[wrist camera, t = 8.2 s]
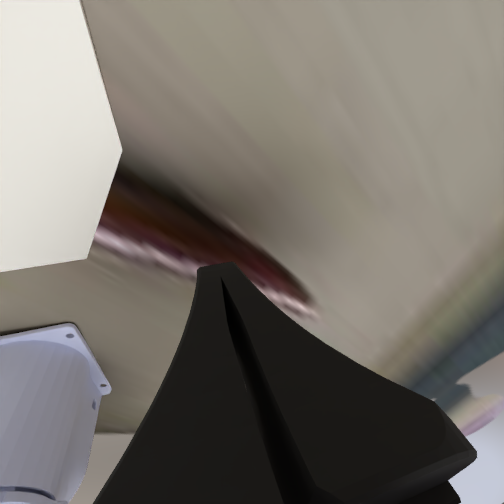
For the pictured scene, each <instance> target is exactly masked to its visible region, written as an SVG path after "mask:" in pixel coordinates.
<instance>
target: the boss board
mask: <svg viewBox="0 0 504 504" xmlns="http://www.w3.org/2000/svg"><path fill="white" fill-rule="evenodd" d="M121 153H122V147H121V143H120V140H119V136H118V132H117V129H116V125H115V122H114V118H113V114H112V111H111V107H110V104H109V100H108V96H107V93H106V89H105V86H104V82H103V78H102V75H101V71H100V68H99V64H98V60H97V57H96V53H95V50H94V46H93V42H92V39H91V35H90V32H89V28H88V24H87V21H86V17H85V14H84V10H83V6H82V3H81V0H0V272H3V271H10V270H16V269H23V268H29V267H36V266H42V265H49V264H56V263H62V262H69V261H75V260H82V259H87V256H88V253H89V250H90V247H91V244H92V241H93V238H94V235H95V232H96V229H97V226H98V223H99V220H100V217H101V214H102V210H103V207H104V204H105V201H106V198H107V195H108V192H109V189H110V186H111V183H112V180H113V177H114V174H115V171H116V168H117V165H118V162H119V159H120V156H121Z"/></svg>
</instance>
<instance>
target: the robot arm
mask: <svg viewBox="0 0 504 504" xmlns="http://www.w3.org/2000/svg"><path fill="white" fill-rule="evenodd" d="M101 384H106V386H104V387H103V386H100V385H101ZM245 386H246V387H245ZM110 391H111V386H110V384H109V382H108V380H107V379H106V377H105V375H104V373H103V371H102V370H101V368H100V366H99V364H98V362H97V361H96V359H95V357H94V355H93V353H92V352H91V350H90V348H89V346H88V344H87V343H86V341H85V340H84V338H83V336H82V335H81V333H80V332H79V330H78V328H77V327H76V326H75V325H74V324H72V323H65V324H60V325H55V326H50V327H45V328H40V329H35V330H30V331H25V332H20V333H15V334H10V335H5V336H0V504H68V503H69V502H70V501H71V499H72V498H73V496H74V495H75V493H76V492H77V490H78V488H79V486H80V484H81V482H82V480H83V478H84V475H85V473H86V470H87V466H88V461H89V456H90V451H91V446H92V441H93V437H94V432H95V427H96V422H97V417H98V412H99V407H100V402H101V397H102V396H103V395H106V394H109V393H110ZM476 458H477V451H476V450H475V449H474V448H473V446H472V445H471V444H470V442H469V441H468V440H467V439H466V437H465V436H464V435H463V434H462V433H461V431H460V430H459V429H458V428H457V426H456V425H455V424H454V423H453V421H452V420H451V419H450V418H449V417H448V416H447V415H446V414H445V413H444V412H443V410H442V409H441V408H440V407H439V406H438V405H437V404H436V403H435V402H434V401H432V400H430V399H428V398H426V397H424V396H422V395H419V394H417V393H415V392H413V391H411V390H409V389H407V388H405V387H403V386H401V385H399V384H396V383H394V382H392V381H390V380H388V379H386V378H384V377H382V376H380V375H378V374H377V373H375V372H373V371H371V370H369V369H367V368H366V367H364V366H362V365H360V364H358V363H357V362H355V361H353V360H352V359H350V358H348V357H347V356H345V355H343V354H342V353H340V352H338V351H337V350H335V349H334V348H332V347H330V346H329V345H327V344H325V343H324V342H322V341H321V340H320V339H318V338H317V337H315V336H314V335H312V334H311V333H309V332H308V331H307V330H305V329H304V328H303V327H301V326H300V325H299V324H297V323H296V322H295V321H293V320H292V319H291V318H290V317H288V316H287V315H286V314H285V313H284V312H282V311H281V310H280V309H279V308H278V307H277V306H275V305H274V304H273V303H272V302H271V301H270V300H269V299H268V298H267V297H266V296H265V295H264V294H263V293H262V292H261V291H260V290H259V289H258V288H257V287H256V286H255V285H254V284H253V283H252V282H251V281H250V280H249V279H248V278H247V277H246V276H245V274H244V273H243V272H242V271H241V270H240V268H239V267H238V266H237V265H236V263H234V262H227V263H221V264H216V265H210V266H204V267H200V268H199V269H198V270H197V283H196V289H195V294H194V298H193V302H192V306H191V310H190V314H189V317H188V320H187V323H186V326H185V329H184V332H183V335H182V338H181V341H180V343H179V346H178V348H177V351H176V353H175V356H174V358H173V360H172V363H171V365H170V367H169V369H168V371H167V374H166V376H165V378H164V380H163V382H162V384H161V386H160V388H159V390H158V392H157V394H156V396H155V398H154V400H153V402H152V404H151V406H150V408H149V410H148V411H147V413H146V415H145V417H144V419H143V420H142V422H141V424H140V426H139V428H138V429H137V431H136V433H135V435H134V437H133V439H132V440H131V442H130V444H129V446H128V447H127V449H126V451H125V453H124V454H123V456H122V458H121V459H120V461H119V463H118V464H117V466H116V467H115V469H114V471H113V472H112V474H111V475H110V477H109V479H108V480H107V482H106V483H105V485H104V487H103V488H102V490H101V491H100V493H99V495H98V496H97V498H96V499H95V501H94V503H93V504H459V503H461V501H460V497H459V496H458V494H457V493H456V491H455V490H454V489H453V487H452V486H451V484H450V483H449V481H448V480H449V479H450V478H452V477H453V476H455V475H456V474H457V473H459V472H460V471H461V470H463V469H464V468H466V467H467V466H468V465H470V464H471V463H472V462H474V461H475V459H476ZM502 504H504V503H502Z"/></svg>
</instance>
